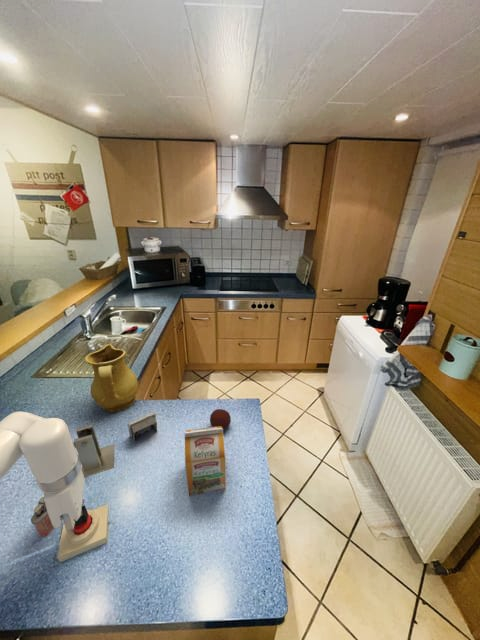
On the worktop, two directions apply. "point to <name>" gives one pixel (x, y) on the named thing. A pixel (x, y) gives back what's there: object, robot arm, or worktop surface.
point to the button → (83, 526)
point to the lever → (84, 434)
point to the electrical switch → (142, 425)
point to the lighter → (42, 519)
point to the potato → (220, 418)
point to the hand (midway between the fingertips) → (80, 520)
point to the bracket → (93, 453)
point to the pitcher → (112, 379)
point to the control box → (85, 535)
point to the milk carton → (205, 460)
